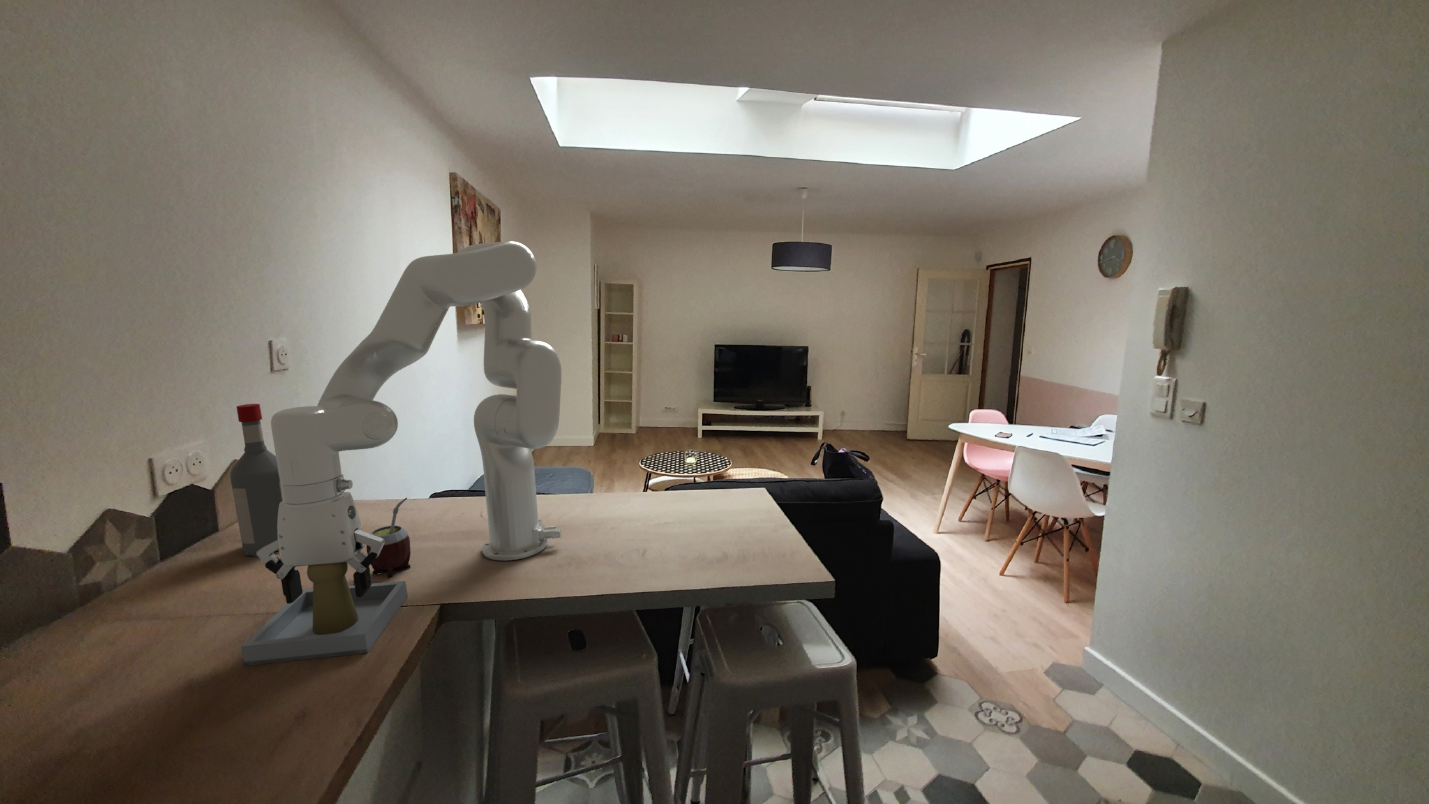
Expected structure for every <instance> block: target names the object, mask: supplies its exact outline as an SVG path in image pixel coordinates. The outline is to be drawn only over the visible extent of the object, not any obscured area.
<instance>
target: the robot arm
mask: <svg viewBox="0 0 1429 804" xmlns="http://www.w3.org/2000/svg"><path fill="white" fill-rule="evenodd" d="M536 274H537V260H536V258H535V256H534V254H533V252H532V251H531V250H530V248H528V247H527V246H526V245H524V244H523V243H521V242H518V241H513V240H509V241H508V240H506V241H495V242H483V243H476V244H475V243H474V244H470V245H468V246H465V247H463V248H461V250H460V251H458V252H456V253H455V252H454V253H447V254H446V253H445V254H436V255H426V256H420V257H417V258H415V259H413V260H412V261H411V262H409V264H408V265H407V266H406V268H405V269H404V271H403V273H402V274H401V276H400V279H399V280H398V282H397V284H396V286H395V288H394V290H393V292H392V293H391V296H390V298H389V299H388V301H387V303H386V305H385V307H384V309H383V311H382V313H381V314H380V316H379V318H378V320H377V321H376V324H375V326H374V327H373V328H372V330H371V332H370V333H369V334H368V335H367V336H366V337H365V338H364V339H363V340H361V342H360V343H359V344H358V345H357V346H356V347H355V348H354V349H353V350H352V351H351V353H349V355H348V356H347V357H346V358H345V359H344V360H343V361H342V362H341V363H340V364H339V366H338V367H337V369H336V370H335V371H334V373H333V375H332V376H331V378H330V380H329V382H328V383H327V385H326V387H325V389H324V391H323V393H322V395H321V397H320V399H319V400H318V403H317V405H310V406H307V405H305V406H299V407H292V408H291V407H290V408H285V409H282V410H280V411H277V412H276V413H274V414H273V415H272V417H271V420H270V426H271V427H270V428H271V434H272V442H273V447H274V453H275V454H274V455H275V456H276V460H277V466H278V473H279V479H280V484H281V491H282V497H283V501H282V502H280V504H279V510H278V523H277V530H278V539H277V540H275V541H274V542H272V543H270V544H268V545H266V546H265V547H263V548H261V549H260V550H259V551H257V553H256V554H257V556H256V557H258V558H259V560H260V561H261V562H262V563H263V564H264V566H265V568H266V569H267V570H268V571H270V572H272V573H273V574H275V578H276V579H277V580H280V581H281V588H282V594H283V596H284V597H285V603H286V604H289V603H292V602H294V601H295V600H296V599H297V598H298V597H299V596H300V595H301V594H302V593H303V591H302V590H303V586H302V580H301V574H300V571H299V569H296V567H308V566H310V565H320V564H334V563H343V562H347V563H348V566H350V567H351V568H352V569H354V570H355V572H353V575H352V577H353V583H354V585H355V592H356V596H357V597H362V596H363V595H364V594H365V593H366V592H367V590H368V589H369V588H370V586H371V584H372V577H371V570H370V565H371V563H372V562H373V561H374V560H375V559H376V558H377V557H378V556H379V555H380V551H381V550H382V547H383V545H384V543H385V540H384V539H383V538H380V537H377V536H375V535H372V534H371V533H369V532H365V531H363V527H362V522H361V518H360V515H359V511H358V508H357V505H356V502H355V500H354V497H353V496H352V493H351V492H349V491H346V490H350V489H352V488H353V485H354V484H353V480H352V479H346V478H344V474H343V473H342V465H341V459H340V452H345V451H357V450H368V449H370V450H371V449H374V448H378V447H381V446H383V445H384V444H387V443H388V442H389V441H390V440H392V439H393V438H394V436H395V435H396V432H397V431H398V426H399V422H398V416H397V415H396V413H395V411H394V410H393V409H392V408H391V407H390V406H388V405H386V404H385V403H383V402H380V401H379V400H378V401H377V400H374V398H376V396H377V394H378V392H379V391H380V389H381V388H382V387H383V386H384V384H385V383H386V382H387V381H388V380H389V379H390V378H391V377H392V376H394V375H395V374H396V373H397V372H399V371H401V370H403V369H405V368H407V367H409V366H410V365H412V364H414V363H417V361H419V360H421V359H422V358H423V357H425V355H427V353H428V352H429V350H430V348H431V347H432V346H431V345H432V344H433V341H434V339H435V337H436V335H437V333H438V331H439V329H440V327H441V325H442V322H443V321H444V318H445V317H446V315H447V313H448V312H449V308H450V307H468V306H471V305H472V306H473V305H476V304H480V303H481V306H482V309H483V313H484V343H483V344H484V346H483V373H484V375H485V378H486V379H487V381H489V383H491V384H493V385H494V386H497V387H501V388H507V389H516V395H514V394H512V395H511V394H502V393H501V394H500V393H499V394H493V395H489V396H487V397H486V398H484V399H482V400H481V401H480V402H479V404H477V407H476V408H475V411H474V415H473V427H474V432H475V436H476V439H477V442H478V446H479V449H480V454H481V460H482V469H483V480H484V482H483V483H484V493H485V501H486V502H485V503H486V504H485V505H486V514H487V524H488V525H487V526H488V533H489V534H488V536H489V539H488V540H486V541H485V543H483V544H482V547H481V548H482V554H483V556H484V557H485V558H487V559H490V560H493V561H503V562H504V561H515V560H520V559H525V558H529V557H532V556H534V555H536V554H538V553H540V552H542V551H543V550H544V549H545V548H546V547H547V546H548V542H549V540H548V539H553V540H555V539H561V538H562V528H557V525H549V526H545V525H543V523H542V519H539V515H538V514H539V513H538V503H537V502H538V501H537V500H538V499H537V488H536V487H537V486H536V474H535V472H536V471H535V461H534V457H533V453H532V450H538V449H543V448H545V447H546V446H548V445H549V444H551V442H553V440H554V438H555V437H556V434H557V432H558V427H559V423H560V413H561V412H560V410H561V391H562V389H561V388H562V365H561V364H562V363H561V361H560V358H559V354H557V352H556V350H555V348H553V346H552V345H550V344H549V343H547V342H545V341H541V340H537V339H532V338H533V337H532V311H531V307H530V304H529V301H528V300H527V298H526V295H525V294H524V292H523V289H525V288H527V287H528V286H529V285H530V284H531V283H532V282H533V280H534V279H535V277H536ZM367 545H368V546H370V547H371V550H370V553H369V555H368V554H367V553H365V552H364V551H363V549H364V548H365V546H367ZM277 549H279V551H278V553H279V557H277V556H276V554H275V552H274V551H275V550H277Z"/></svg>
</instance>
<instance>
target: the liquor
mask: <svg viewBox="0 0 1429 804" xmlns="http://www.w3.org/2000/svg"><path fill="white" fill-rule="evenodd" d="M236 412H237V418H238V419H237V420H238V422H239V423H241V429H242V434H243V440H244V441H243V442H244V448H243V451H244V453H243V454H242V455H241V456H240V458H239V459H238V460H237V462H235V464H234V466H233V467H232V468H231V469H230V474H229V478H230V483H231V489H232V495H233V500H234V506H235V511H236V517H237V523H238V529H239V534H240V540H241V547H242V551H243V553H244V555H245V556H247V555H257V554H256V553H257V551H259V550H260V549H261V548H263V547H265V546H266V545H268V544H270V543H272V542H274V541H275V540H277V539H278V530H277V523H278V510H279V504H280V502H282V501H283V497H282V491H281V484H280V479H279V473H278V466H277V460H276V454H274V453H272V452H271V451H270V450H268V448H267V445H266V444H265V440H264V434H263V428H262V423H261V421H262V420H263V416H262V415H263V414H262V410H261V404H260V403H246V404H241V405H237V406H236ZM278 550H279V549H277V550H275V551H278ZM275 551H274V553H276V552H275ZM278 552H279V551H278Z"/></svg>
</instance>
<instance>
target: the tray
mask: <svg viewBox="0 0 1429 804" xmlns="http://www.w3.org/2000/svg"><path fill="white" fill-rule="evenodd" d="M406 583H407V582H406V580H401V581H400V580H399V581H388V582H387V581H386V582H376V583H371V586H370V588H369V589H368V590H367V592H366V593H365V594H364V595H363V596H362V597H357V596H356V592H355V585H353V584H352V585H348V586H349V589H350V592H351V596H352V599H353V602H354V605H355V608H356V611H357V614H358V621H357V622H356V623H355V624H354V625H353V626H351V627H350V628H348V629H346V630H344V631H341V632H338V633H334V634H324V635H317V634H314V633H313V588H307V589H302V591H303V593H302V594H301V595H300V596H299V597H298V598H297V599H296V600H295V601H294V602H292V603H289V604H287V603H286V604H285V605H284V606H283V607H282V608H281V609H280V610H279V611H277V613H276V614H274V615H273V616H272V617H271V618H270V619H269V620H268V621H267V622H266V623H265V624H264V625H263V626H261V627H260V628H259V629H258V630H257V631H256V632H255V633H254V634H252V636H250V637H249V638H248V639H247V640H246V641H245V642H244V643H243V644H242V645H240V649H241V654H242V661H243V664H244V665H243V666H244V667H246V666H254V665H257V666H258V665H264V664H275V663H285V662H292V661H293V662H294V661H305V660H313V659H322V658H331V657H344V656H350V655H362V654H368V653H369V652H370V650H371V649H372V648H373V646H374V645H375V643H376V642H377V641H378V639H379V638H380V636H381V635H382V634H383V633H384V630H385V629H386V628H387V627H388V625H389V624H390V622H391V621H392V619H393V618H394V617H395V615H396V614H397V612H398V611H399V609H400V608H401V607H402V606H403V604H404V602H405V601H406V599H407V598H408V592H407V584H406Z"/></svg>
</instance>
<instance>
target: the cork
mask: <svg viewBox="0 0 1429 804" xmlns="http://www.w3.org/2000/svg"><path fill="white" fill-rule="evenodd" d="M348 567H349V564H348V563H347V562H343V563H334V564H320V565H310V566H307V569H306V570H307V571H306V574H307V578H308V580H309V581H310V582H311V583H312V589H313V633H314V634H317V635H324V634H334V633H338V632H341V631H344V630H346V629H348V628H350V627H351V626H353V625H354V624H355V623H356V622H357V621H358V614H357V611H356V608H355V605H354V602H353V599H352V596H351V592H350V589H349V586H350V585H349V583H348V580H347V577H346V574H347V572H348Z"/></svg>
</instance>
